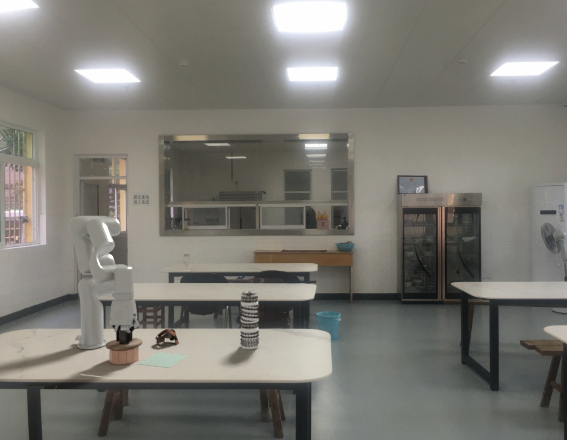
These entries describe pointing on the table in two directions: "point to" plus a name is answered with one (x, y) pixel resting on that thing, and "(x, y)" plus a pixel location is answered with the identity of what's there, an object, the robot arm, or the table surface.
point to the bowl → (124, 356)
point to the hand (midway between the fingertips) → (124, 340)
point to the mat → (163, 359)
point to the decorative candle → (249, 320)
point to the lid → (123, 342)
